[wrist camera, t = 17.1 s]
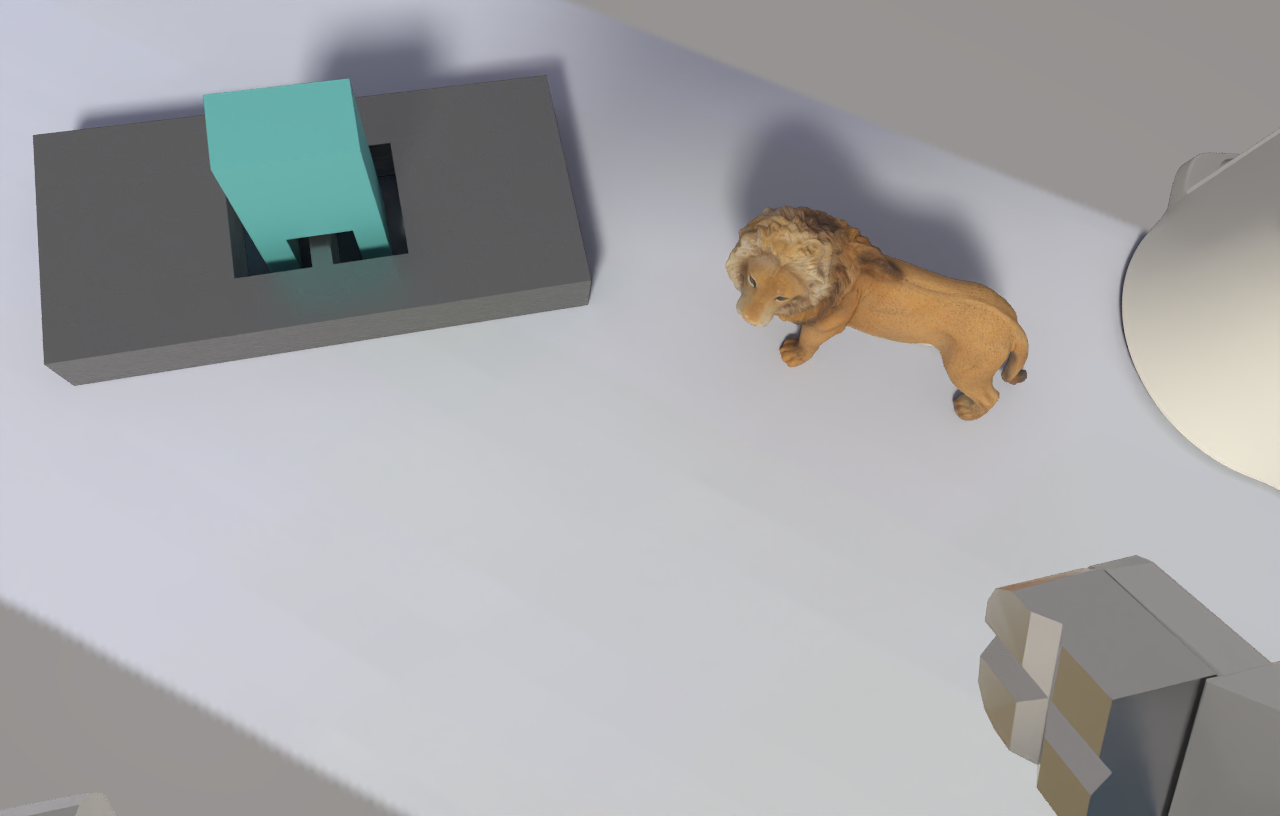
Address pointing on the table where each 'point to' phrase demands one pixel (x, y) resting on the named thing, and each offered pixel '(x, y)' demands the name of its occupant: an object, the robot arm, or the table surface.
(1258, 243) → the robot arm
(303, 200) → the teal rectangular prism
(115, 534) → the table surface
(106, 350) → the gray rectangular base
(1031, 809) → the table surface
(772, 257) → the lion figurine
